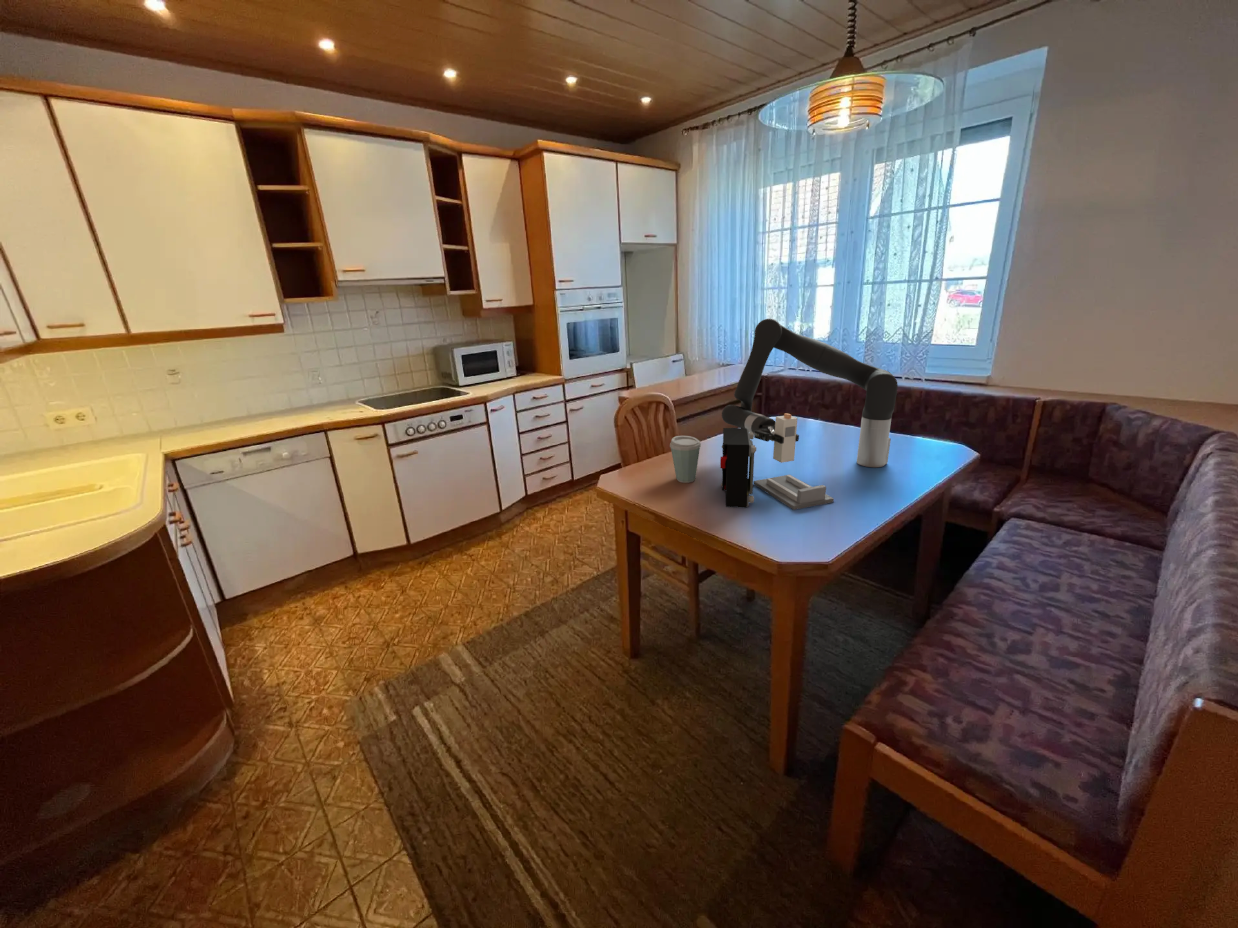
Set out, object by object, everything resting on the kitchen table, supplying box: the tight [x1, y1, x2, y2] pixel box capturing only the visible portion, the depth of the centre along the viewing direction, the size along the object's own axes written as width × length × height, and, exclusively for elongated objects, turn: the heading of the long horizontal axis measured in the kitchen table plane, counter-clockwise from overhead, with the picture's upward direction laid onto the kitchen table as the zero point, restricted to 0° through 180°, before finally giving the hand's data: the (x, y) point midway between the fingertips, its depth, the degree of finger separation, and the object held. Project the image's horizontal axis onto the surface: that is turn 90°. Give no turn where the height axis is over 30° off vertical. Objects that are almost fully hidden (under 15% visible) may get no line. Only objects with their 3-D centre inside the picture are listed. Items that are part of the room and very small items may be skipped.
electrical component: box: [719, 427, 757, 509], centre depth 154 cm, size 18×10×20 cm, turn 168°
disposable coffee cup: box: [669, 435, 701, 484], centre depth 169 cm, size 11×11×15 cm
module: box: [772, 412, 798, 464], centre depth 155 cm, size 5×5×15 cm
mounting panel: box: [753, 474, 835, 511], centre depth 156 cm, size 14×22×5 cm, turn 17°
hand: (790, 439), depth 153 cm, fingers closed on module, 4 cm apart
